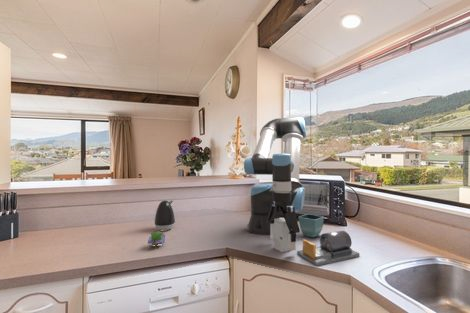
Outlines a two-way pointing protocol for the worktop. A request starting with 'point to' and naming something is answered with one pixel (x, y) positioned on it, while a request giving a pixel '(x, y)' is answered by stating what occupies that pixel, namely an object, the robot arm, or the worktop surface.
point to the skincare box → (281, 235)
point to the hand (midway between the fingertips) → (282, 243)
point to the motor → (329, 249)
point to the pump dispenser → (164, 216)
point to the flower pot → (311, 224)
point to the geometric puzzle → (156, 238)
